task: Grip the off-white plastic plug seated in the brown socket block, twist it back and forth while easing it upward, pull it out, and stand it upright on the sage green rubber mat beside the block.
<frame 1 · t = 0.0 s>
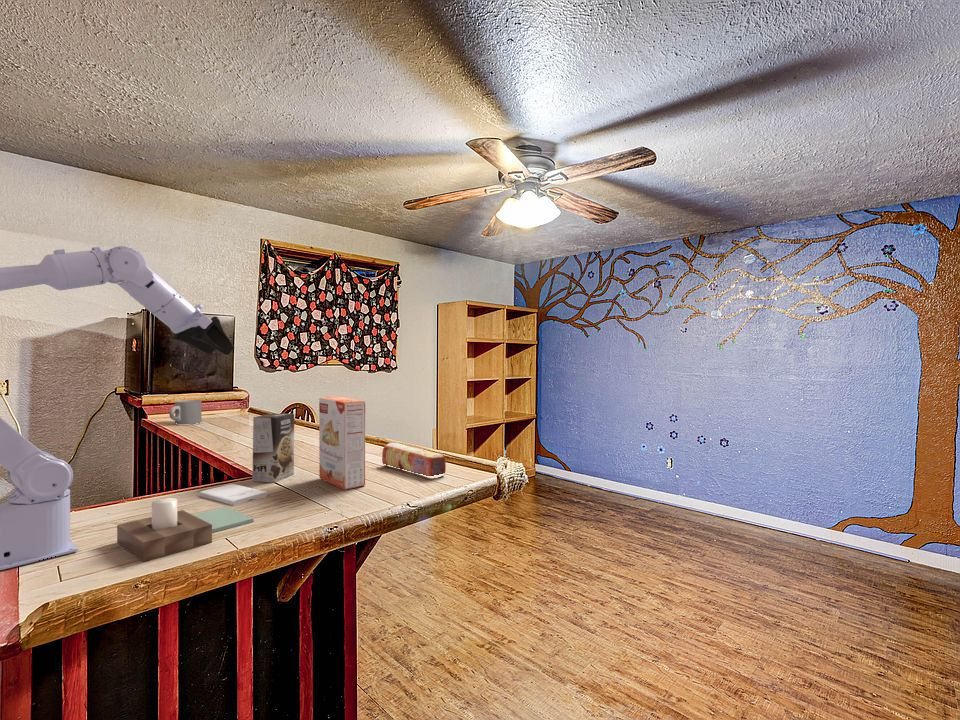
hand: (221, 351, 99), 32 cm above the table, tool tilted 50°, fingers open, 7 cm apart
coffee box: (274, 478, 125), on the table
cracker box: (341, 483, 121), on the table
plug: (164, 521, 82), in the brown socket block
brown socket block: (164, 542, 82), on the table
snack package: (413, 472, 134), on the table
mat: (215, 521, 93), on the table
coffee mug: (184, 424, 214), on the table
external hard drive: (233, 499, 109), on the table
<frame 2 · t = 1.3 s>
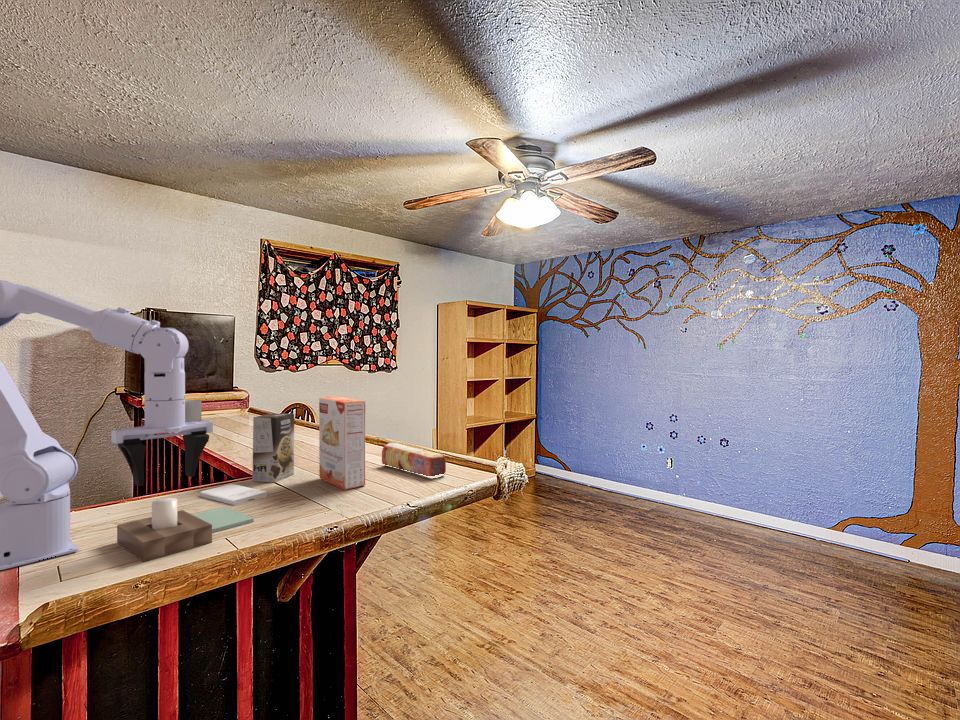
hand: (165, 480, 82), 10 cm above the table, tool pointing down, fingers open, 7 cm apart
nothing on the table moved.
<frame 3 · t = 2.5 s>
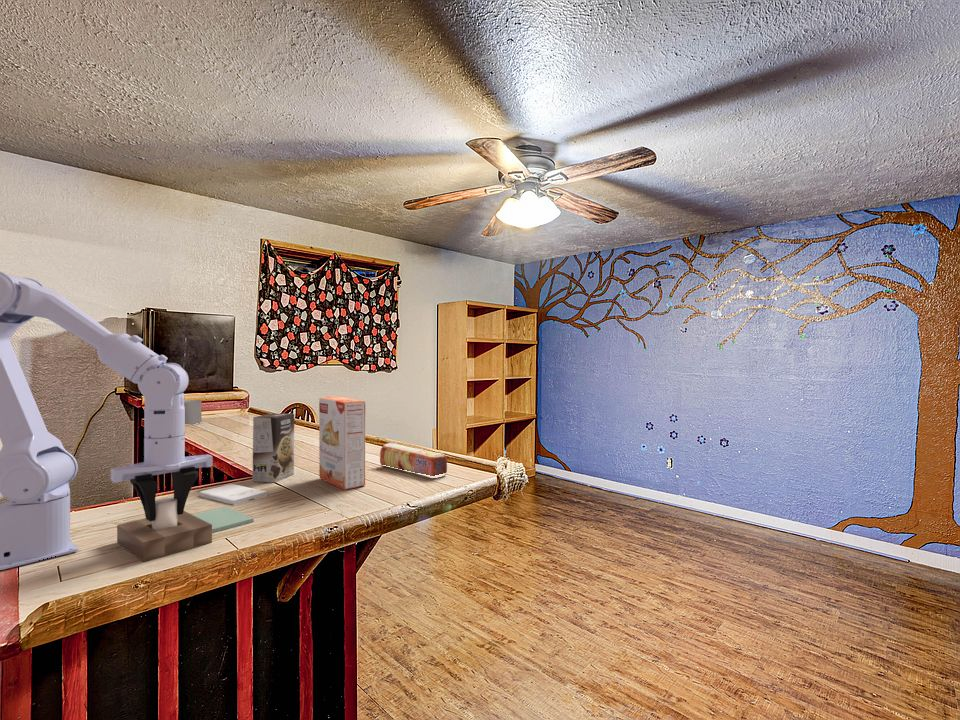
hand: (164, 516, 82), 4 cm above the table, tool pointing down, fingers closed on plug, 4 cm apart
plug: (164, 521, 82), in the brown socket block, touching gripper
everything else where it was.
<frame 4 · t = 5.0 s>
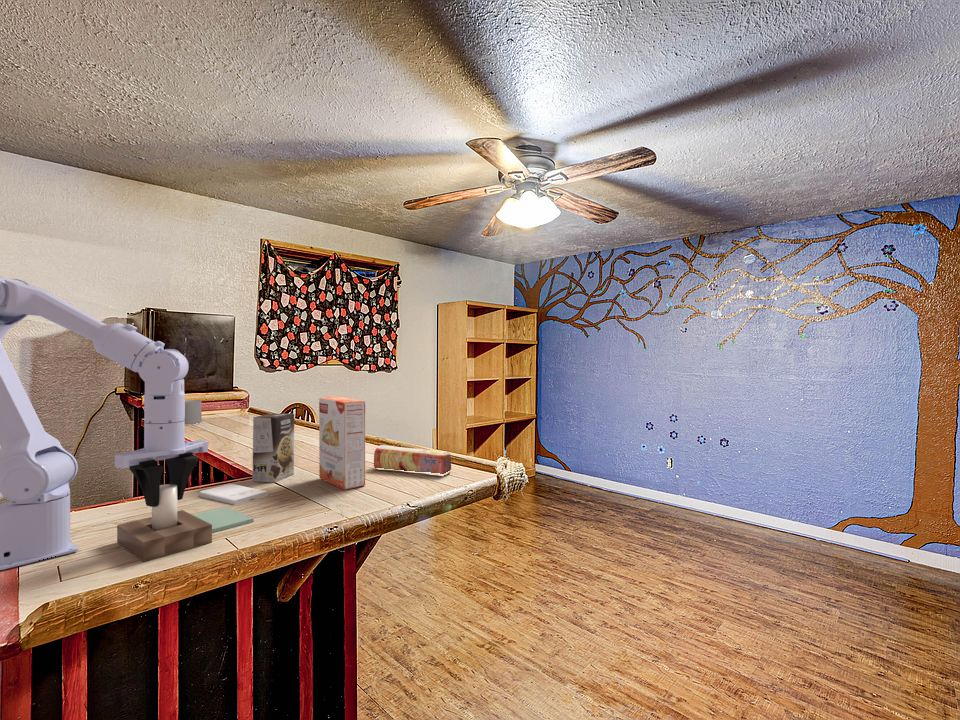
hand: (164, 502, 82), 7 cm above the table, tool pointing down, fingers closed on plug, 4 cm apart
plug: (164, 507, 82), point 6 cm above the table, touching gripper
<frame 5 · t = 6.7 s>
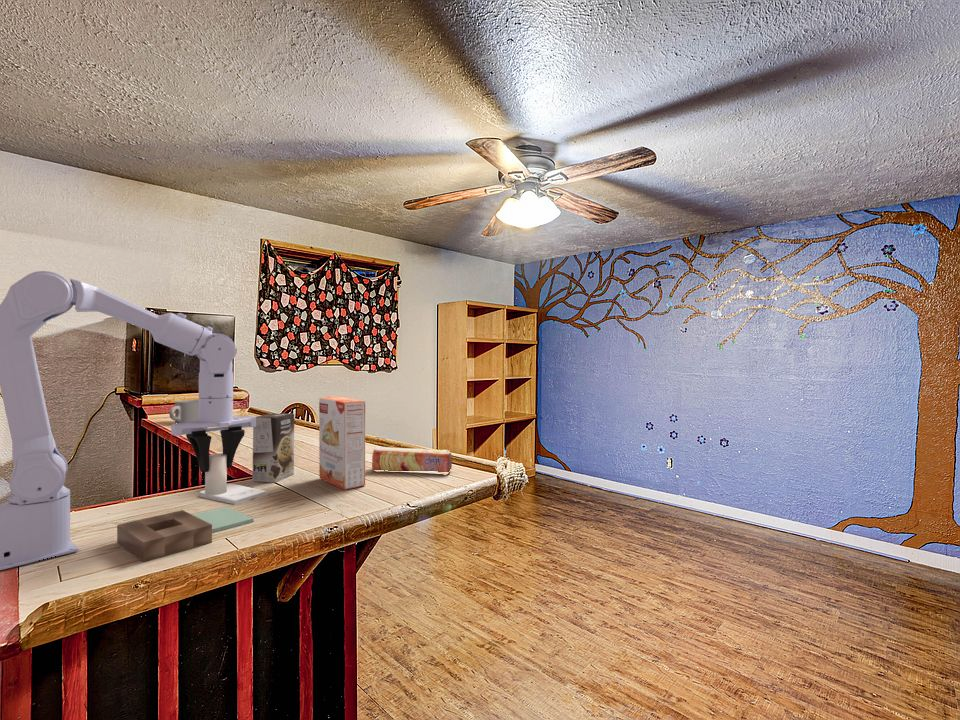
hand: (215, 469, 92), 10 cm above the table, tool pointing down, fingers closed on plug, 4 cm apart
plug: (216, 474, 92), point 9 cm above the table, touching gripper
when the fingers open (7 cm above the table, at t = 7.8 s): plug drops 1 cm, resting on mat.
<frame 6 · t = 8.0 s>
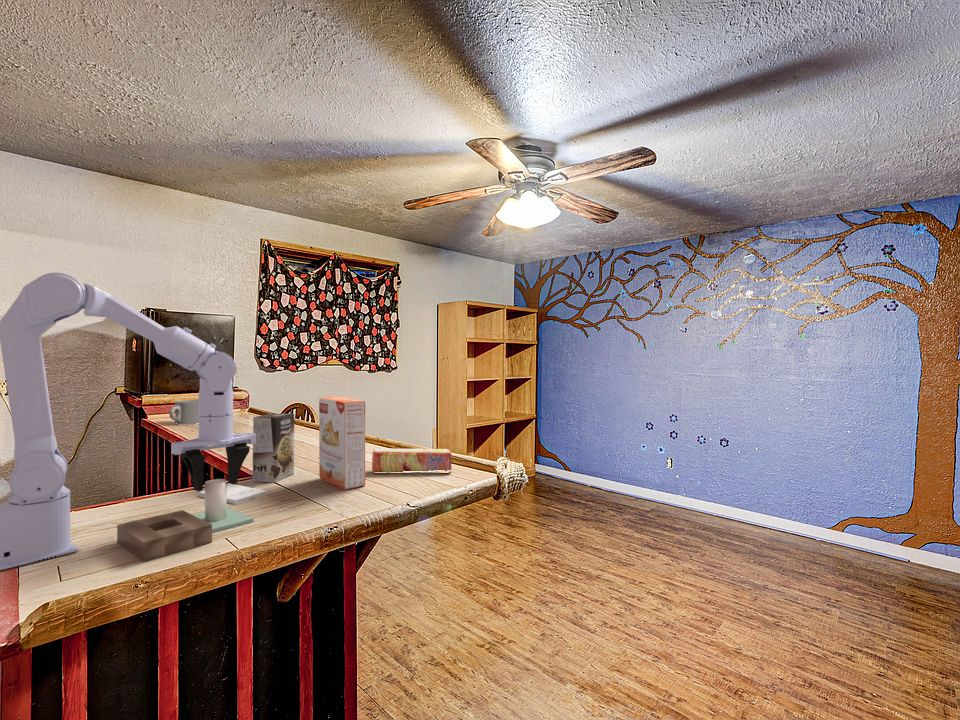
hand: (215, 486, 93), 7 cm above the table, tool pointing down, fingers open, 6 cm apart
plug: (215, 499, 93), on the mat, point 4 cm above the table
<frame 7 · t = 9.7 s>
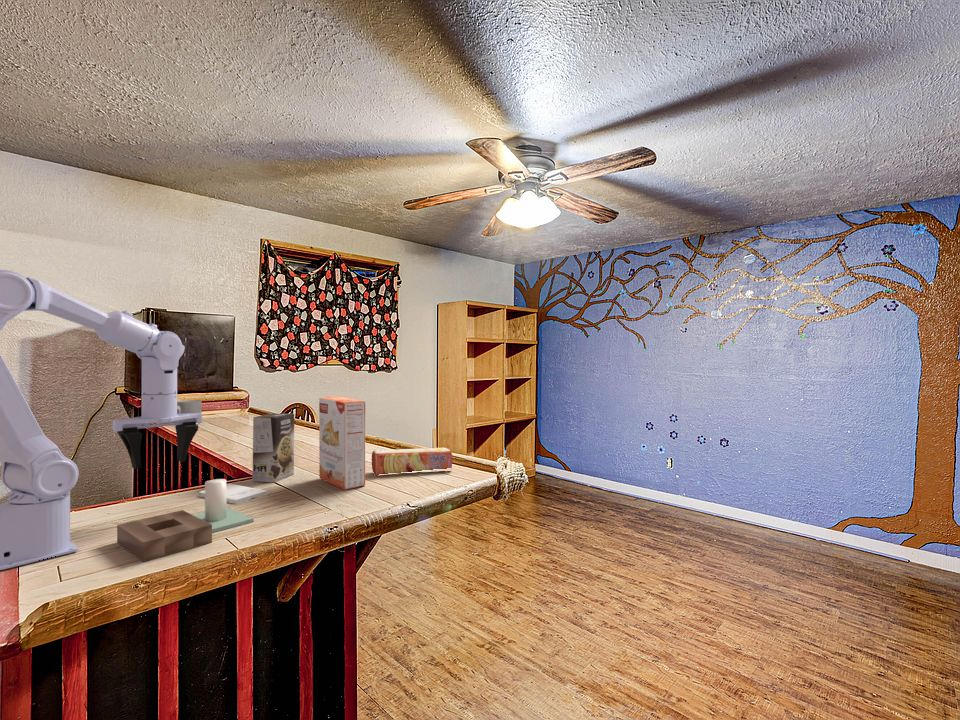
hand: (159, 464, 94), 10 cm above the table, tool pointing down, fingers open, 7 cm apart
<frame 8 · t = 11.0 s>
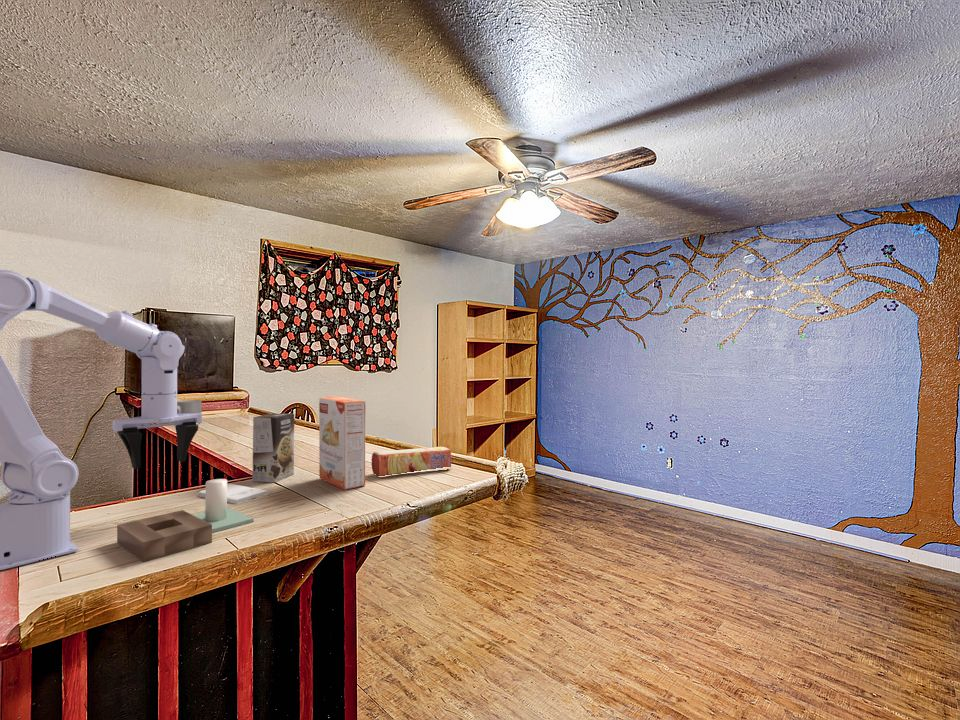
hand: (159, 464, 94), 10 cm above the table, tool pointing down, fingers open, 7 cm apart
at the end: plug inside the target area on the mat (0.1 cm from its centre), point 4.1 cm above the mat's base; plug tilted 1°; the gripper is holding nothing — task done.
